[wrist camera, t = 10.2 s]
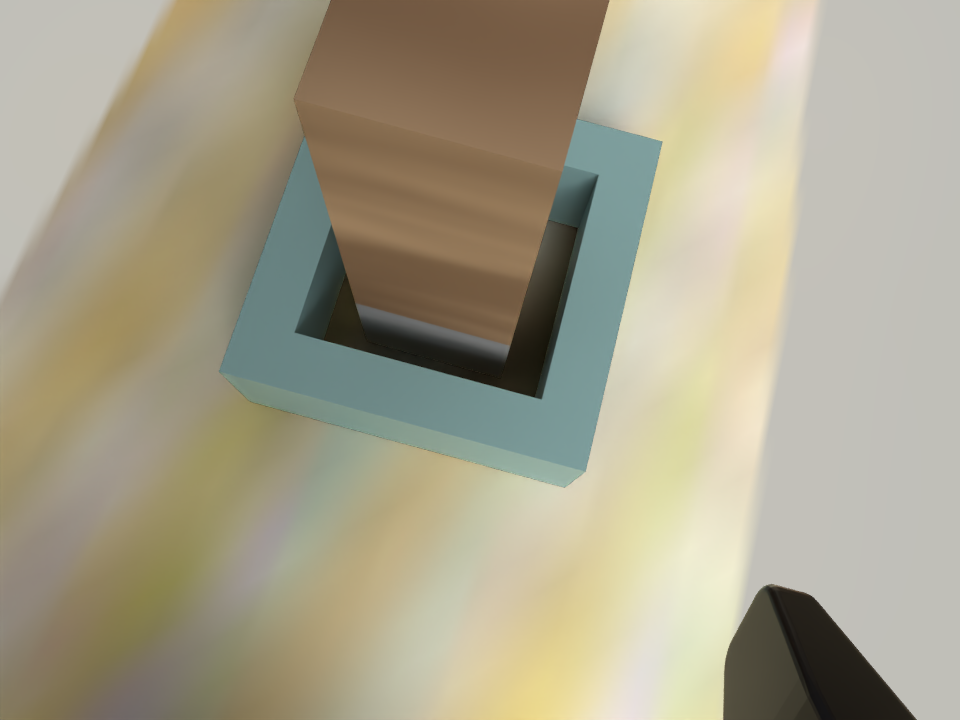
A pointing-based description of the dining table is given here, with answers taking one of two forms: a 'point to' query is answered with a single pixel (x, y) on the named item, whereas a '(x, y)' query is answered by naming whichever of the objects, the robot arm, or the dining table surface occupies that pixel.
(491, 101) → the square wooden post
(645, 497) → the dining table surface
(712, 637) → the dining table surface
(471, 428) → the square teal collar
